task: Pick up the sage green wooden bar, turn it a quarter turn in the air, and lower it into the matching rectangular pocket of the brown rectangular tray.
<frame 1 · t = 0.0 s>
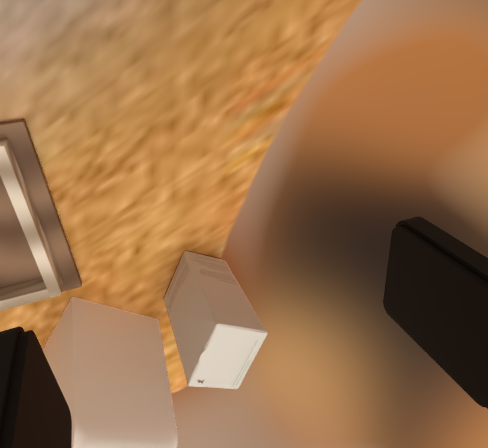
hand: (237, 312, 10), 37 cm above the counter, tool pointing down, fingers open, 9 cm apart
milk: (98, 340, 54), on the counter
skincare box: (192, 277, 55), on the counter
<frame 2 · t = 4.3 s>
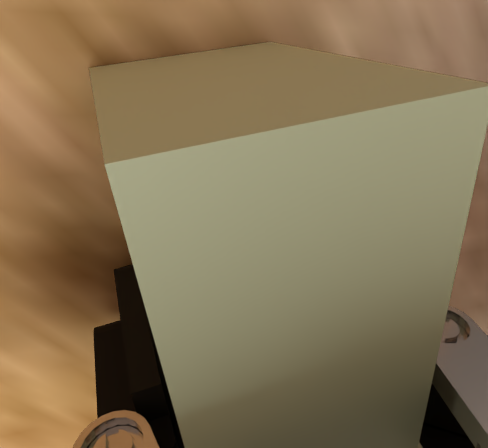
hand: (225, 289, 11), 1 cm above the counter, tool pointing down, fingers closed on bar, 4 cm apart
bar: (218, 275, 12), on the counter, touching gripper
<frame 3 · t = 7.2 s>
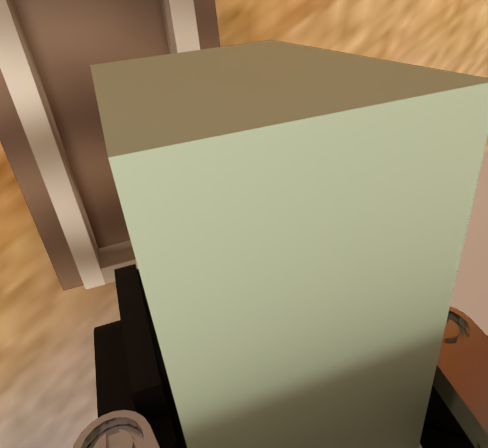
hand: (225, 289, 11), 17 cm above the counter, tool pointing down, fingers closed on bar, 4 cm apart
bar: (219, 274, 12), point 16 cm above the counter, touching gripper
brown rectangular tray: (121, 123, 25), on the counter
when the fingers open (4 cm above the counter, at t = 10.1 s): bar drops 2 cm, resting on brown rectangular tray.
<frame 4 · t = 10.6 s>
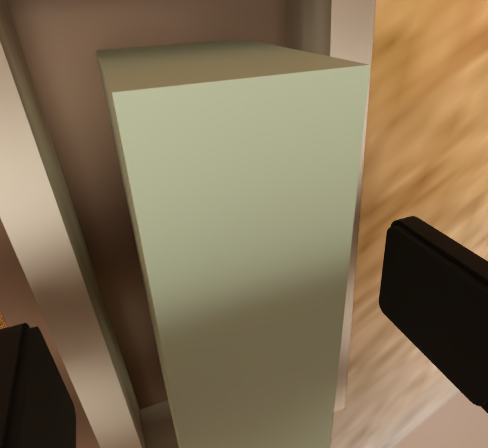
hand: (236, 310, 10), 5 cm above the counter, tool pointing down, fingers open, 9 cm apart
bar: (195, 235, 14), point 1 cm above the counter, touching brown rectangular tray
brown rectangular tray: (190, 221, 15), on the counter
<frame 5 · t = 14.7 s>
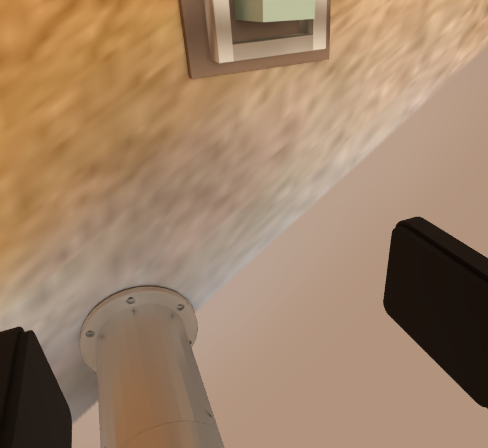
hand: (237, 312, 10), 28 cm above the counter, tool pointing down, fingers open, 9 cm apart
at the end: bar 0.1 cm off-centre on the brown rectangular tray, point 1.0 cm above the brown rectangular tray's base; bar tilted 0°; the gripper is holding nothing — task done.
